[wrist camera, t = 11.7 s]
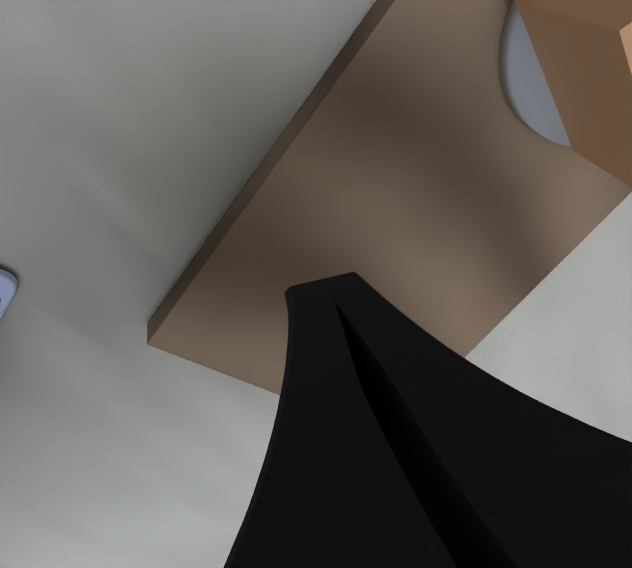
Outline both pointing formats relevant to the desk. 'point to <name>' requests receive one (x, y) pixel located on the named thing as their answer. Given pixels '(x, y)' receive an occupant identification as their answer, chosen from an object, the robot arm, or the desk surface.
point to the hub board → (398, 192)
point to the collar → (588, 74)
